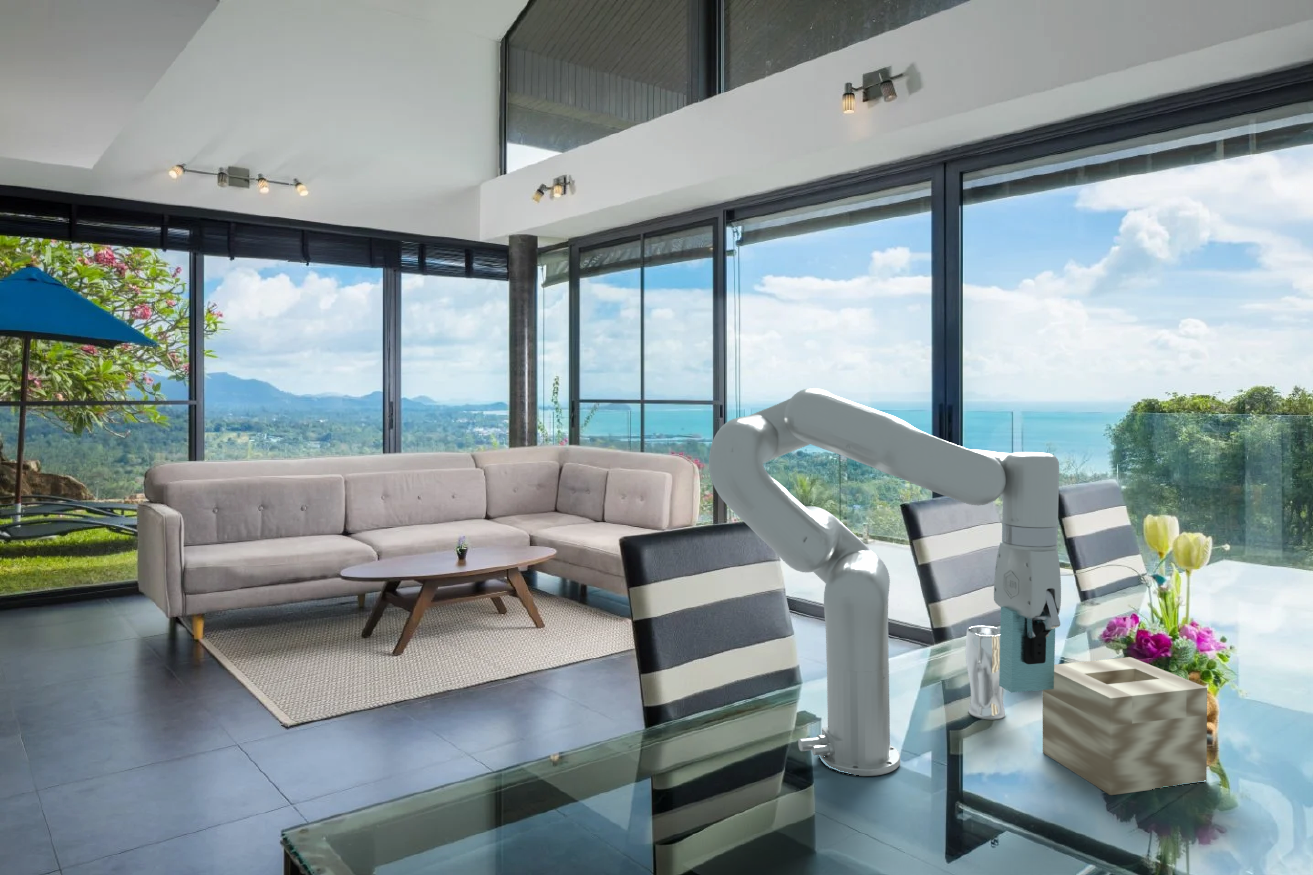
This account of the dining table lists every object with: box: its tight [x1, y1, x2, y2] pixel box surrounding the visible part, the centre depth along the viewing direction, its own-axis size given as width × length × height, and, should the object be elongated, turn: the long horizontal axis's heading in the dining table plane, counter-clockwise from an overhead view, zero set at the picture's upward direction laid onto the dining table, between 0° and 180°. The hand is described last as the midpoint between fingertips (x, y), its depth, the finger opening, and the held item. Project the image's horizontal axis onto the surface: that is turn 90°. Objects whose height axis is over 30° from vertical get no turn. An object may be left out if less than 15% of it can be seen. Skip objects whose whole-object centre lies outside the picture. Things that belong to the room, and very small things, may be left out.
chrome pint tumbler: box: [965, 625, 1006, 721], centre depth 153 cm, size 7×7×15 cm
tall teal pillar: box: [999, 606, 1056, 693], centre depth 128 cm, size 7×3×12 cm, turn 102°
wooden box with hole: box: [1042, 656, 1208, 796], centre depth 131 cm, size 16×15×14 cm
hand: (1026, 658), depth 128 cm, fingers closed on tall teal pillar, 3 cm apart
